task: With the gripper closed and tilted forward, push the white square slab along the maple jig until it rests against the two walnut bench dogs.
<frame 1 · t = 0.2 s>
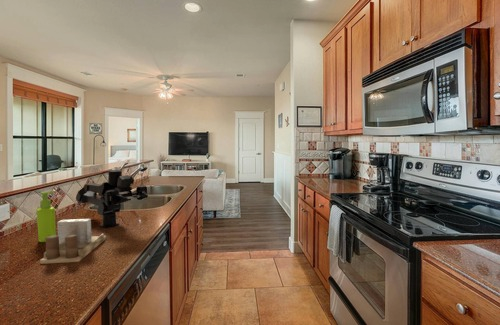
hand: (137, 198, 112), 17 cm above the countertop, tool horizontal, fingers open, 9 cm apart
soap dispenser: (48, 239, 109), on the countertop
white square slab: (74, 233, 97), point 6 cm above the countertop, slide at 0.0 cm
jig: (77, 249, 98), on the countertop
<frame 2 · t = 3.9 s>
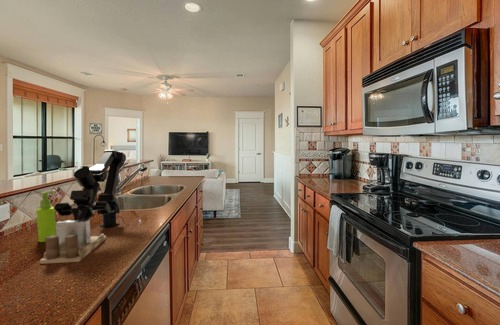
hand: (76, 228, 97), 8 cm above the countertop, tool tilted 45°, fingers closed, pressing on white square slab
white square slab: (73, 234, 96), point 7 cm above the countertop, slide at 0.8 cm, touching gripper
everything else where it was.
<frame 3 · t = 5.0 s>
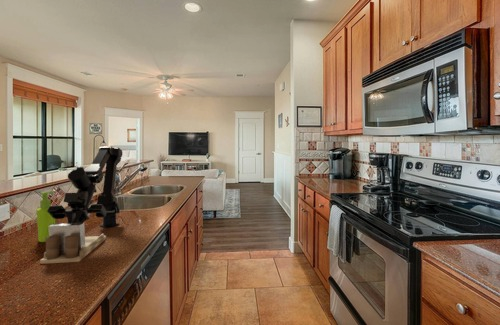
hand: (70, 232, 93), 8 cm above the countertop, tool tilted 45°, fingers closed, pressing on white square slab
white square slab: (67, 238, 92), point 6 cm above the countertop, slide at 4.9 cm, touching gripper, jig
everything else where it was.
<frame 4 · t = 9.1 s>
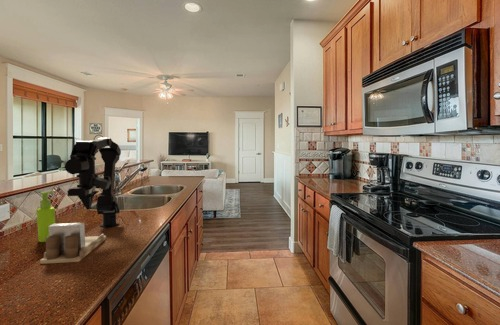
hand: (88, 209, 107), 13 cm above the countertop, tool pointing down, fingers closed
white square slab: (67, 238, 92), point 7 cm above the countertop, slide at 4.9 cm, touching jig
everything else where it was.
at the end: white square slab slide at 4.9 cm; white square slab 0.1 cm from the target spot, resting on jig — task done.
